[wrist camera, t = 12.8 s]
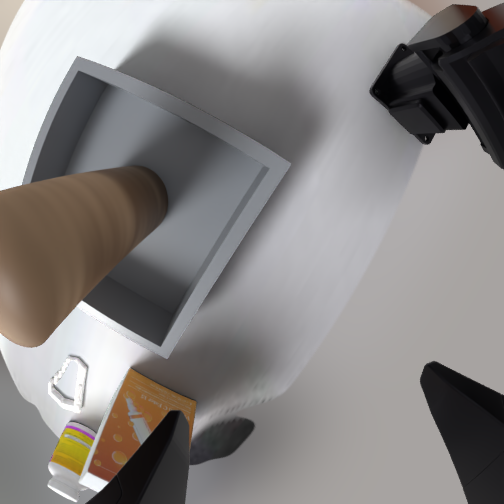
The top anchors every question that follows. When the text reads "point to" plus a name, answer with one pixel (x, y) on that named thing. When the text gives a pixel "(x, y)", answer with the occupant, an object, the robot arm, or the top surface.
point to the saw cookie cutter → (81, 377)
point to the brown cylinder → (69, 242)
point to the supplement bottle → (70, 460)
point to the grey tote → (177, 185)
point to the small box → (130, 426)
